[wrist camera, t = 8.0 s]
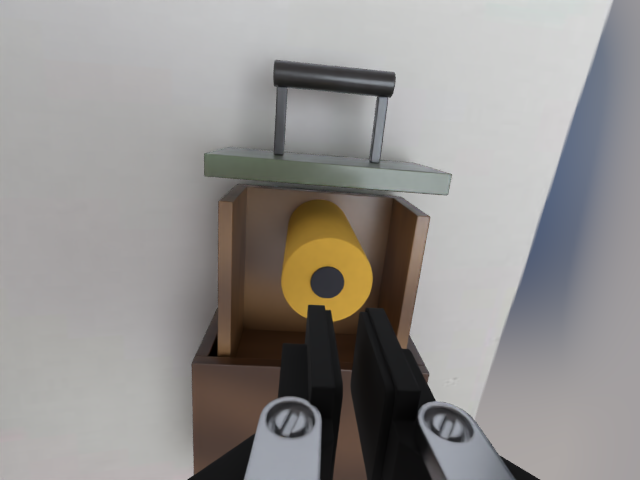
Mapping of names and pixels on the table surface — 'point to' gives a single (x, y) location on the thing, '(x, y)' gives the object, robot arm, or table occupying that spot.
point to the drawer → (279, 203)
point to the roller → (324, 262)
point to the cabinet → (257, 404)
